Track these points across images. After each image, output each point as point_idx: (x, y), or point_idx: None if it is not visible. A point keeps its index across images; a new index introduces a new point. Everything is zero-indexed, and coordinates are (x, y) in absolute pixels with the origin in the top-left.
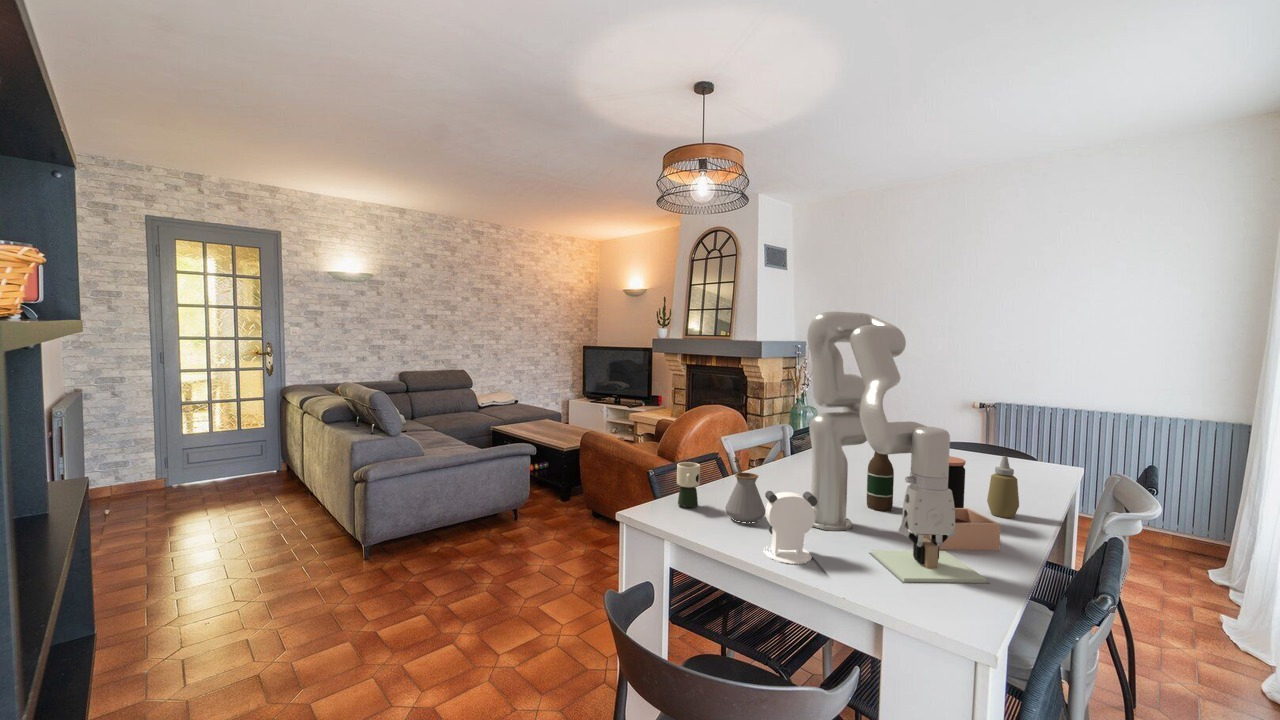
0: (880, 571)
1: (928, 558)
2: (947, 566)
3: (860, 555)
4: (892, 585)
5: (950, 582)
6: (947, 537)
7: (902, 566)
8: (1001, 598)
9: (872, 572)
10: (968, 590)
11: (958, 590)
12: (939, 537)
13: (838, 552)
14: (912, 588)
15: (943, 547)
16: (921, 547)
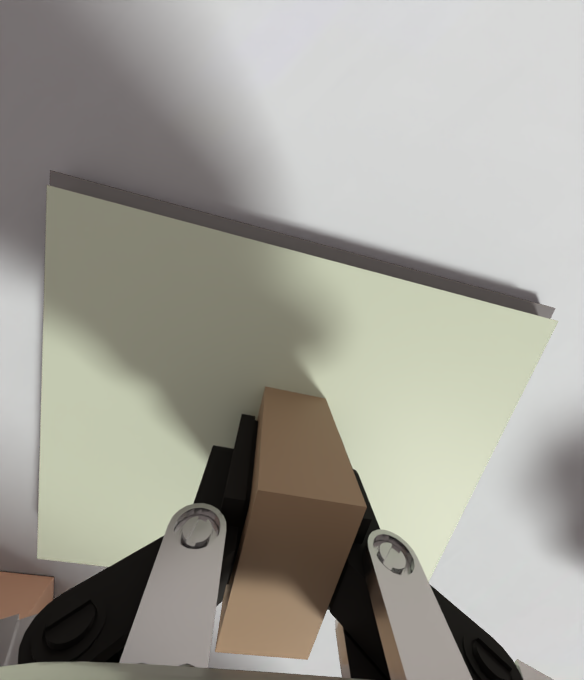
0: (498, 449)
1: (329, 430)
2: (179, 397)
3: (443, 581)
4: (579, 321)
5: (300, 250)
6: (37, 617)
7: (433, 441)
8: (118, 4)
9: (540, 447)
10: (246, 169)
11: (305, 186)
12: (177, 620)
13: (502, 610)
14: (520, 270)
15: (5, 596)
16: (365, 524)
